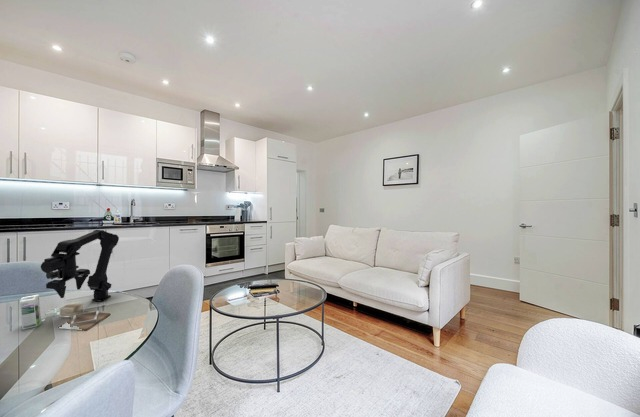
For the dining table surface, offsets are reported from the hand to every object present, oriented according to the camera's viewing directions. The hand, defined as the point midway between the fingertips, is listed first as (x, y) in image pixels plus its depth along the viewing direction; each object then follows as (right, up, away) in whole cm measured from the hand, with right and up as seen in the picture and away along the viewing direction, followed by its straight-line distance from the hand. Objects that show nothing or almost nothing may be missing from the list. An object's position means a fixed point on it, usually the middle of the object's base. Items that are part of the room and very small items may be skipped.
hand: (70, 293), depth 135 cm
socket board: (+11, -13, -3) cm, 17 cm away
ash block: (-1, -12, +2) cm, 12 cm away
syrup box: (-11, -13, -9) cm, 19 cm away
